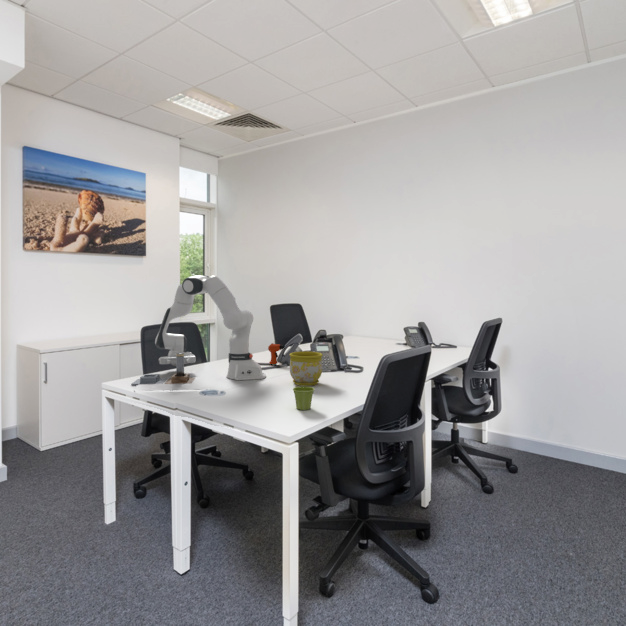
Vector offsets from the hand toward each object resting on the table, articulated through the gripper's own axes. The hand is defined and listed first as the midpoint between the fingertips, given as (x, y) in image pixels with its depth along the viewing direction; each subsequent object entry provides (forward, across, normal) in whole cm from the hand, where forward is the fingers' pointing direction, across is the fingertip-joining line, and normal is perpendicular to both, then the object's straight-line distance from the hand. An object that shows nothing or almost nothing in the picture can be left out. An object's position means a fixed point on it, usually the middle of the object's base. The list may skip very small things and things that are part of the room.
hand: (178, 361), depth 245 cm
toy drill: (-20, +66, +10) cm, 70 cm away
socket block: (+11, 0, +10) cm, 15 cm away
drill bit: (+11, 0, +8) cm, 14 cm away
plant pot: (+81, +45, +10) cm, 94 cm away
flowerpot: (+37, +64, +10) cm, 74 cm away
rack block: (+7, -16, +9) cm, 20 cm away
